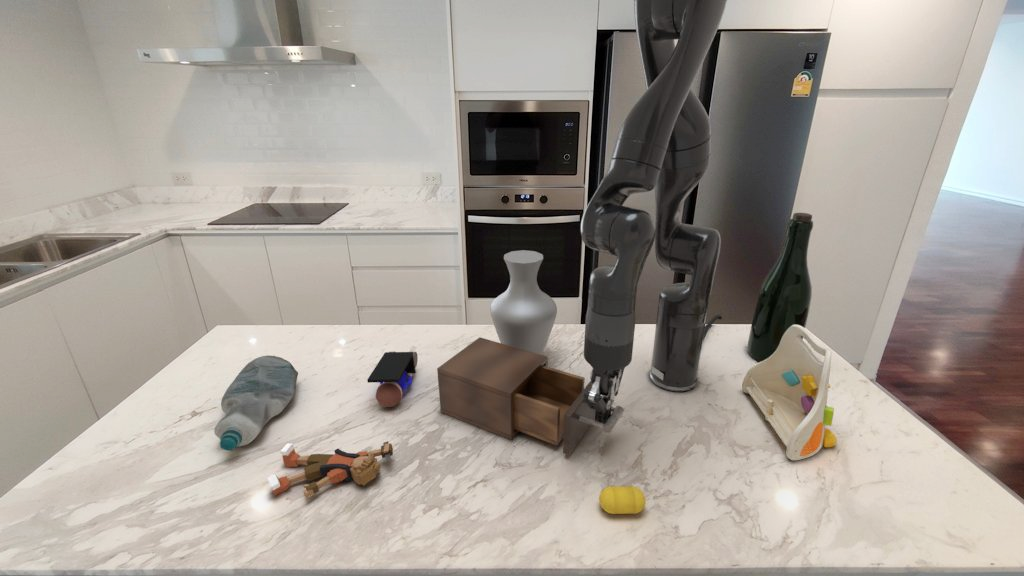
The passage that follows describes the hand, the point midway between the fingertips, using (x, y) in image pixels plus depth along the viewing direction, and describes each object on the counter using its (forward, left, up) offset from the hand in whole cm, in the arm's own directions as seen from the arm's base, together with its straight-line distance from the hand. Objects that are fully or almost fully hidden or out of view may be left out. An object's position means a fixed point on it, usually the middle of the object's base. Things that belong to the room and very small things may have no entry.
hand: (602, 423), depth 81 cm
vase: (-17, -25, -5) cm, 31 cm away
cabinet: (0, -22, -4) cm, 22 cm away
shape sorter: (-22, +28, -5) cm, 36 cm away
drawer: (0, -8, -4) cm, 8 cm away
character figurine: (+29, -34, -5) cm, 45 cm away
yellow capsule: (+12, +8, -4) cm, 15 cm away
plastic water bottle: (+26, -59, -5) cm, 65 cm away
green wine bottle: (-47, +23, -5) cm, 53 cm away
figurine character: (+6, -42, -5) cm, 43 cm away
